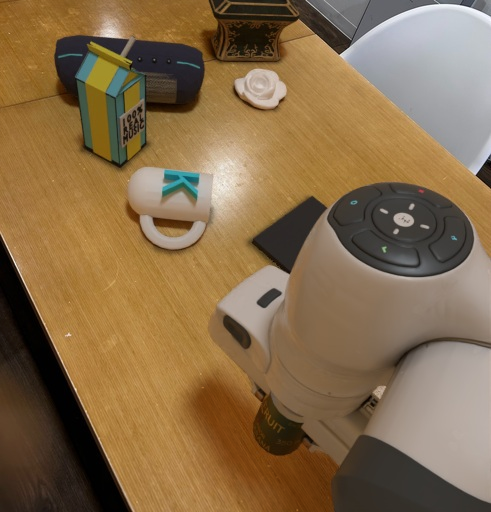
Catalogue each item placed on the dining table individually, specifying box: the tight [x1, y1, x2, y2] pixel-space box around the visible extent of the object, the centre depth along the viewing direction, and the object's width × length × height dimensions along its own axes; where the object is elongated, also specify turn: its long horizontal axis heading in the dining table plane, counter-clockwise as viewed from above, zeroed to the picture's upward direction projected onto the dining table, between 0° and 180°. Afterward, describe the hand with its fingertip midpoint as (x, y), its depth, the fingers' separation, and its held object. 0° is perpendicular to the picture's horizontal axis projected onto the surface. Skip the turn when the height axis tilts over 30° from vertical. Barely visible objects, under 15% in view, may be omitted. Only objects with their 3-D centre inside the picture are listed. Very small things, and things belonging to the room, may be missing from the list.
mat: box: [251, 195, 328, 274], centre depth 74 cm, size 20×14×1 cm
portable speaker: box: [53, 34, 206, 105], centre depth 85 cm, size 25×10×10 cm, turn 96°
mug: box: [126, 166, 214, 250], centre depth 71 cm, size 12×9×12 cm
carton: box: [75, 35, 148, 169], centre depth 74 cm, size 7×8×18 cm
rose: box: [233, 68, 288, 110], centre depth 93 cm, size 10×4×10 cm
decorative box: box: [208, 0, 301, 62], centre depth 95 cm, size 20×10×20 cm, turn 103°
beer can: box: [252, 390, 307, 457], centre depth 47 cm, size 5×5×12 cm
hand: (285, 416), depth 48 cm, fingers closed on beer can, 5 cm apart
